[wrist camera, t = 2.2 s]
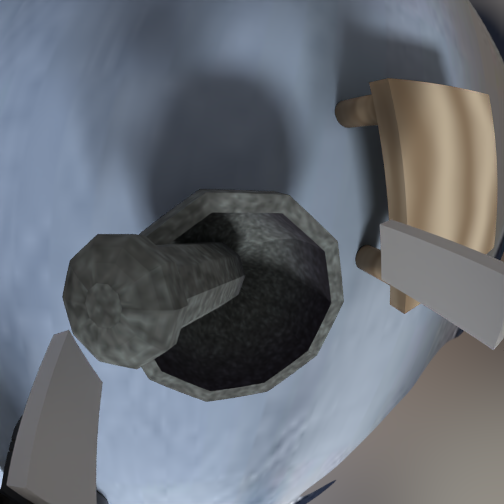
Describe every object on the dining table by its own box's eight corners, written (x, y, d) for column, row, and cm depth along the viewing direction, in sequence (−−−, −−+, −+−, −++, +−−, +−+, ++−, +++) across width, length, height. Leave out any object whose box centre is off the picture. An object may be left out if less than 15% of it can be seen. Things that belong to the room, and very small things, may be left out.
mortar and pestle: (308, 243, 19) (455, 327, 9) (225, 348, 20) (298, 491, 9) (173, 131, 14) (223, 50, 4) (81, 265, 15) (7, 422, 4)
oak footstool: (351, 280, 22) (404, 313, 16) (325, 94, 17) (387, 78, 11) (448, 231, 25) (493, 247, 20) (438, 96, 20) (488, 94, 14)
